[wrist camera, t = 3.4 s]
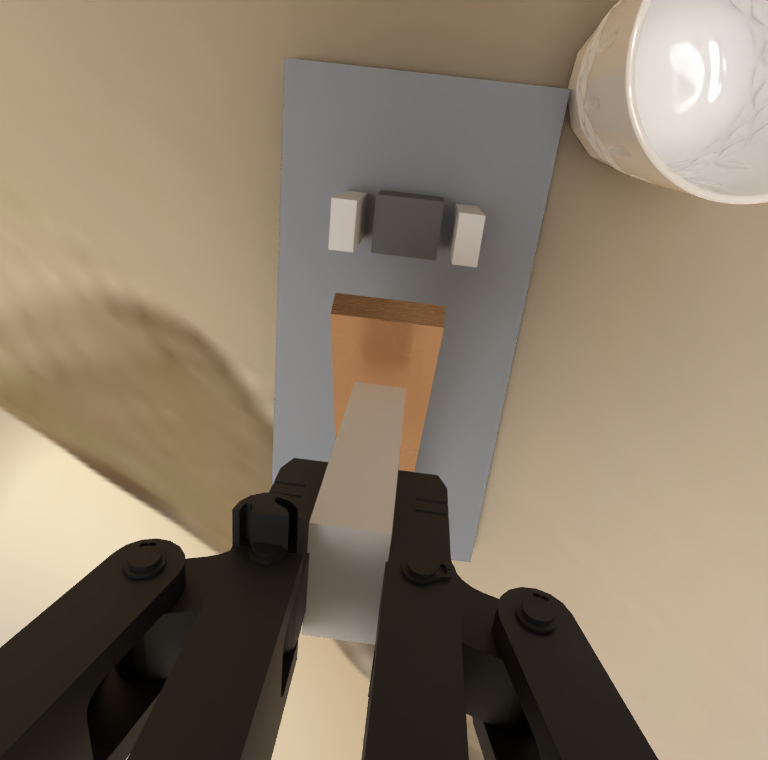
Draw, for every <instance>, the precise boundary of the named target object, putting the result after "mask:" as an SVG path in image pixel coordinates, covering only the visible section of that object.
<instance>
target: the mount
mask: <svg viewBox="0 0 768 760" xmlns="http://www.w3.org/2000/svg"><path fill="white" fill-rule="evenodd" d="M569 92H570V89H565V88H556V87H547V86H538V85H529V84H520V83H511V82H502V81H493V80H483V79H474V78H465V77H456V76H447V75H438V74H429V73H420V72H411V71H402V70H392V69H383V68H374V67H365V66H356V65H347V64H338V63H329V62H320V61H311V60H301V59H292V58H285V62H284V96H283V130H282V164H281V198H280V232H279V266H278V300H277V335H276V369H275V403H274V437H273V471H272V485H273V483H274V481H275V479H276V477H277V474H278V472H279V470H280V468H281V467H282V466H284V465H285V464H286V463H288V462H289V461H290V460H292V459H293V458H300V459H308V460H315V461H323V462H329V460H330V457H331V453H332V450H333V447H334V444H335V423H334V396H333V369H332V342H331V315H330V314H331V310H332V305H333V301H334V297H335V293H343V294H351V295H359V296H368V297H376V298H384V299H392V300H400V301H408V302H417V303H425V304H433V305H441V306H446V307H445V320H444V330H443V335H442V340H441V345H440V350H439V354H438V359H437V364H436V369H435V374H434V379H433V383H432V388H431V393H430V398H429V403H428V408H427V413H426V417H425V422H424V427H423V432H422V437H421V442H420V447H419V451H418V456H417V461H416V466H415V471H414V472H418V473H425V474H433V475H438V476H439V477H440V479H441V480H442V482H443V483H444V484H445V486H446V487H447V493H448V512H449V514H448V517H449V532H450V551H451V560H457V561H464V562H470V561H471V557H472V552H473V547H474V542H475V538H476V533H477V528H478V524H479V519H480V514H481V509H482V505H483V500H484V495H485V490H486V486H487V481H488V476H489V471H490V467H491V462H492V457H493V452H494V448H495V443H496V438H497V434H498V429H499V424H500V419H501V415H502V410H503V405H504V400H505V396H506V391H507V386H508V381H509V377H510V372H511V367H512V362H513V358H514V353H515V348H516V344H517V339H518V334H519V329H520V325H521V320H522V315H523V310H524V306H525V301H526V296H527V291H528V287H529V282H530V277H531V272H532V268H533V263H534V258H535V254H536V249H537V244H538V239H539V235H540V230H541V225H542V220H543V216H544V211H545V206H546V201H547V197H548V192H549V187H550V182H551V178H552V173H553V168H554V164H555V159H556V154H557V149H558V145H559V140H560V135H561V130H562V126H563V121H564V116H565V111H566V107H567V102H568V97H569Z"/></svg>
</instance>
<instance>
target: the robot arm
mask: <svg viewBox="0 0 768 760" xmlns="http://www.w3.org/2000/svg"><path fill="white" fill-rule="evenodd" d="M405 395H406V388H403V387H395V386H387V385H379V384H371V383H363V382H356V381H355V382H354V385H353V389H352V392H351V395H350V398H349V401H348V404H347V407H346V410H345V413H344V416H343V419H342V423H341V426H340V429H339V432H338V435H337V438H336V441H335V444H334V447H333V450H332V453H331V457H330V460H329V462H323V461H315V460H308V459H300V458H293V459H292V460H290V461H289V462H288V463H286V464H285V465H284V466H282V467H281V468H280V470H279V472H278V474H277V477H276V479H275V481H274V483H273V485H272V487H271V489H270V491H269V493H261V494H256V495H251V496H249V497H247V498H245V499H243V500H241V501H240V502H239V503H238V504H237V505H236V506H235V507H234V508H233V509H232V515H233V546H232V548H231V550H230V551H228V552H225V553H222V554H219V555H214V556H209V557H199V558H189V559H185V554H184V553H183V551H182V549H181V548H180V546H178V545H176V544H174V543H173V542H171V541H167V540H161V539H148V540H140V541H137V542H134V543H131V544H128V545H125V546H124V547H122V548H121V549H119V550H117V551H116V552H115V553H113V554H112V555H110V556H109V557H108V558H107V559H106V560H104V561H103V562H102V563H101V564H100V565H99V566H97V567H96V568H95V569H94V570H93V571H91V572H90V573H89V574H88V575H87V576H85V577H84V578H83V579H82V580H81V581H79V583H77V584H76V585H75V586H73V587H72V588H71V589H70V590H69V591H67V592H66V593H65V594H64V595H63V596H62V597H60V598H59V599H58V600H57V601H56V602H54V603H53V604H52V605H51V606H50V607H48V608H47V609H46V610H45V611H44V612H42V613H41V614H40V615H39V616H38V617H36V618H35V619H34V620H33V621H32V622H30V623H29V624H28V625H27V626H26V627H25V628H23V629H22V630H21V631H20V632H19V633H17V634H16V635H15V636H14V637H13V638H11V639H10V640H9V641H8V642H7V643H6V644H4V645H3V646H2V647H1V648H0V760H126V758H127V757H128V756H129V757H128V759H127V760H271V757H272V753H273V749H274V746H275V742H276V738H277V734H278V730H279V726H280V722H281V718H282V714H283V711H284V707H285V703H286V699H287V695H288V691H289V687H290V683H291V680H292V676H293V672H294V668H295V664H296V660H297V649H298V637H299V634H300V630H301V626H302V623H303V628H302V634H304V635H311V636H318V637H326V638H332V639H339V640H346V641H353V642H360V643H367V644H374V645H375V650H374V657H373V665H372V672H371V680H370V687H369V695H368V697H369V699H368V708H367V718H366V725H365V734H364V743H363V752H362V760H469V756H468V740H467V724H466V713H467V714H469V715H471V716H472V717H473V724H474V728H475V731H476V734H477V737H478V740H479V743H480V747H481V750H482V753H483V756H484V759H485V760H658V758H657V757H656V755H655V753H654V752H653V750H652V748H651V747H650V745H649V743H648V742H647V740H646V738H645V736H644V735H643V733H642V731H641V730H640V728H639V726H638V725H637V723H636V721H635V720H634V718H633V716H632V715H631V713H630V711H629V709H628V708H627V706H626V704H625V703H624V701H623V699H622V698H621V696H620V694H619V693H618V691H617V689H616V688H615V686H614V684H613V683H612V681H611V679H610V677H609V676H608V674H607V672H606V671H605V669H604V667H603V666H602V664H601V662H600V661H599V659H598V657H597V656H596V654H595V652H594V651H593V649H592V647H591V645H590V644H589V642H588V640H587V639H586V637H585V635H584V634H583V632H582V630H581V629H580V627H579V625H578V624H577V622H576V620H575V618H574V617H573V615H572V614H571V612H570V611H569V610H568V609H567V608H566V606H565V605H564V604H563V603H562V602H560V601H559V600H558V599H556V598H555V597H553V596H552V595H550V594H548V593H545V592H543V591H540V590H538V589H533V588H524V587H520V588H515V589H511V590H508V591H507V592H506V593H504V594H503V595H502V596H501V597H500V599H497V598H495V597H492V596H490V595H487V594H485V593H482V592H480V591H478V590H476V589H474V588H472V587H471V586H469V585H468V584H467V583H465V582H464V581H463V580H462V579H461V578H460V577H459V576H458V575H457V573H456V570H455V567H454V566H453V564H452V562H451V551H450V532H449V517H448V514H449V512H448V493H447V487H446V486H445V484H444V483H443V482H442V480H441V479H440V477H439V476H438V475H433V474H425V473H418V472H410V471H403V470H398V466H399V456H400V446H401V436H402V426H403V416H404V406H405ZM129 754H130V755H129Z"/></svg>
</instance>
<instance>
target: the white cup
mask: <svg viewBox="0 0 768 760" xmlns="http://www.w3.org/2000/svg"><path fill="white" fill-rule="evenodd" d="M568 89H570V92H569V97H568V107H569V115H570V122H571V129H572V130H573V132H574V133H575V135H576V136H577V138H578V139H579V141H580V142H581V143H582V145H583V146H584V148H585V149H586V151H587V152H588V154H589V155H590V156H591V157H593V158H595V159H597V160H599V161H601V162H603V163H605V164H607V165H609V166H611V167H613V168H615V169H617V170H618V171H620V172H622V173H624V174H627V175H630V176H632V177H635V178H637V179H640V180H643V181H645V182H649V183H652V184H655V185H659V186H662V187H666V188H669V189H673V190H676V191H680V192H683V193H687V194H690V195H693V196H697V197H700V198H703V199H706V200H710V201H714V202H719V203H726V204H758V203H766V202H768V0H619V1H618V2H617V3H616V4H615V5H614V6H613V8H612V9H611V10H610V11H609V12H608V13H607V15H606V16H605V17H604V18H603V20H602V21H601V23H600V24H599V25H598V27H597V28H596V29H595V31H594V32H593V33H592V35H591V36H590V37H589V39H588V40H587V41H586V42H585V44H584V45H583V46H582V48H581V49H580V50H579V52H578V53H577V57H576V60H575V64H574V67H573V71H572V74H571V78H570V82H569V85H568Z"/></svg>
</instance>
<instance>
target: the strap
mask: <svg viewBox="0 0 768 760" xmlns="http://www.w3.org/2000/svg"><path fill="white" fill-rule="evenodd" d="M445 307H446V306H441V305H433V304H425V303H417V302H408V301H400V300H392V299H384V298H376V297H368V296H359V295H351V294H343V293H335V297H334V301H333V305H332V310H331V314H330V315H331V342H332V369H333V396H334V423H335V441H336V438H337V435H338V432H339V429H340V426H341V423H342V419H343V416H344V413H345V410H346V407H347V404H348V401H349V398H350V395H351V392H352V389H353V385H354V382H355V381H356V382H363V383H371V384H379V385H387V386H395V387H403V388H406V395H405V406H404V416H403V426H402V436H401V446H400V456H399V466H398V470H403V471H410V472H414V471H415V466H416V461H417V456H418V451H419V447H420V442H421V437H422V432H423V427H424V422H425V417H426V413H427V408H428V403H429V398H430V393H431V388H432V383H433V379H434V374H435V369H436V364H437V359H438V354H439V350H440V345H441V340H442V335H443V330H444V320H445Z"/></svg>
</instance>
